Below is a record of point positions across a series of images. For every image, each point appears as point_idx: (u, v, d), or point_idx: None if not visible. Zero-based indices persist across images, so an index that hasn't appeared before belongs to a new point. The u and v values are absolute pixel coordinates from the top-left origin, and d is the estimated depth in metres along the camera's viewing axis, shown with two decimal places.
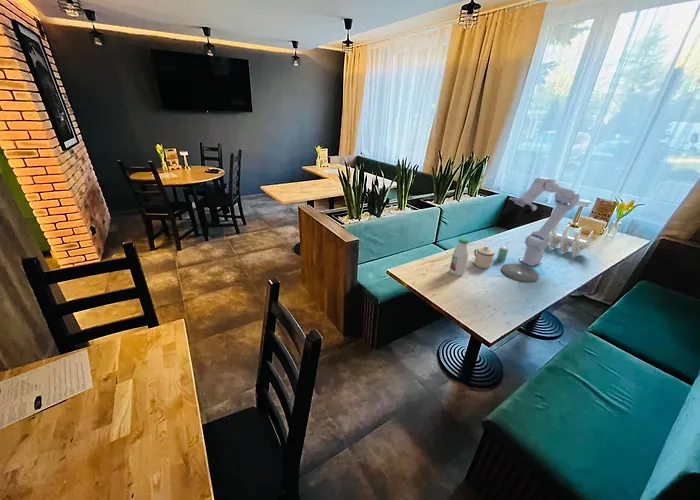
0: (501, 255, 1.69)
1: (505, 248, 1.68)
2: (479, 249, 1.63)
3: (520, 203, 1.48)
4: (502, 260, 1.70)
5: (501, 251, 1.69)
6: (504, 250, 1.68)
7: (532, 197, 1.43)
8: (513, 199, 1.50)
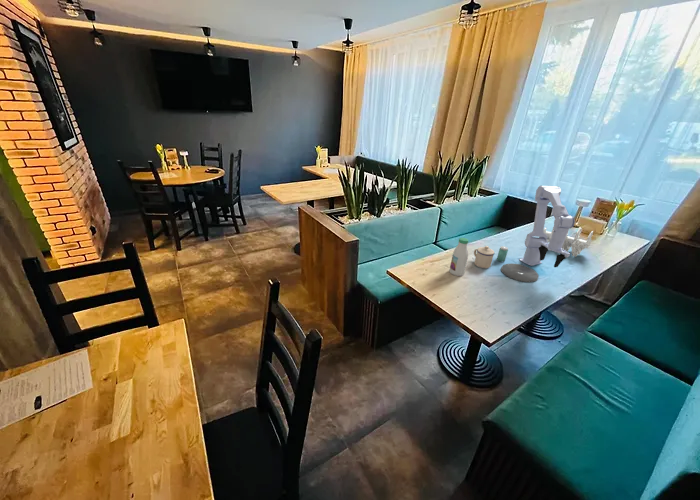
0: (501, 255, 1.69)
1: (505, 248, 1.68)
2: (479, 249, 1.63)
3: None
4: (502, 260, 1.70)
5: (501, 251, 1.69)
6: (504, 250, 1.68)
7: (560, 243, 1.42)
8: (543, 245, 1.50)
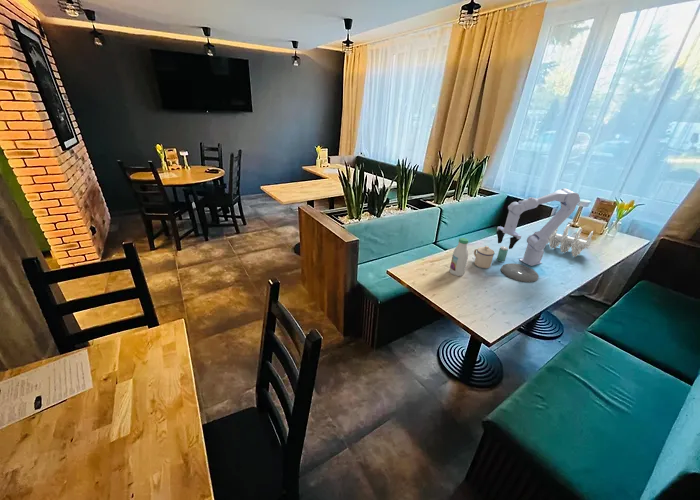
0: (501, 255, 1.69)
1: (505, 248, 1.68)
2: (479, 249, 1.63)
3: None
4: (502, 260, 1.70)
5: (501, 251, 1.69)
6: (504, 250, 1.68)
7: (513, 227, 1.60)
8: (500, 229, 1.68)
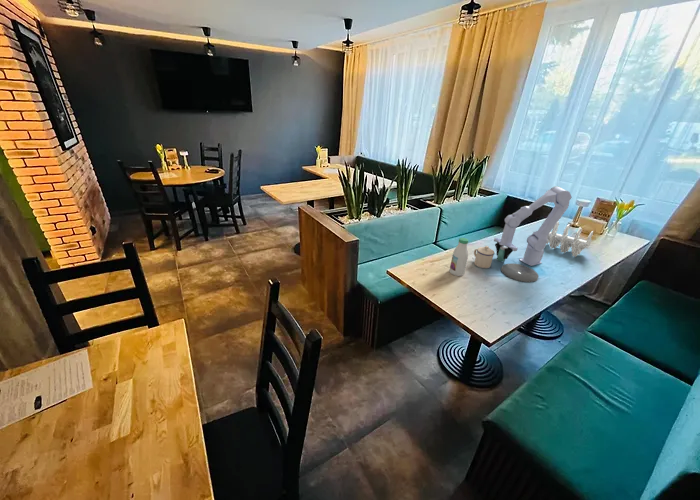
0: (501, 255, 1.69)
1: None
2: (479, 249, 1.63)
3: None
4: (502, 260, 1.70)
5: (501, 251, 1.69)
6: (504, 250, 1.68)
7: (509, 239, 1.63)
8: (497, 240, 1.71)
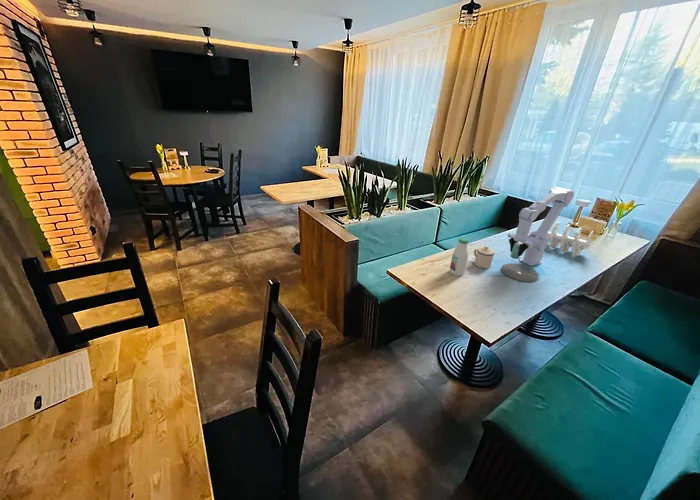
0: (515, 251, 1.58)
1: None
2: (479, 249, 1.63)
3: None
4: (516, 257, 1.59)
5: (515, 247, 1.57)
6: None
7: (525, 234, 1.52)
8: (511, 236, 1.60)
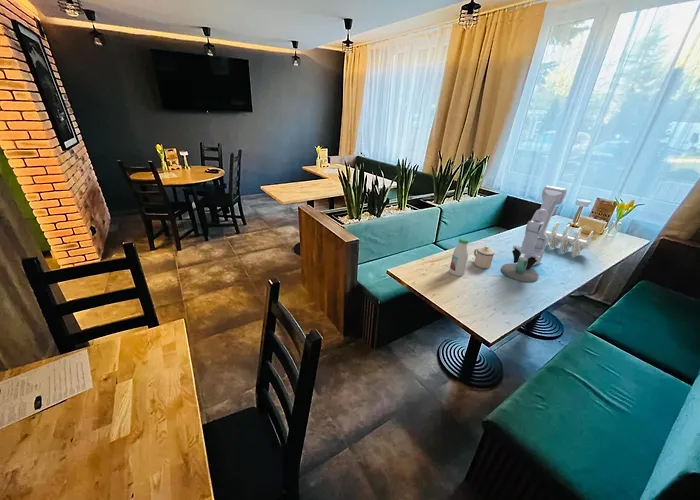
0: (520, 266, 1.55)
1: (525, 259, 1.55)
2: (479, 249, 1.63)
3: None
4: (522, 272, 1.56)
5: (521, 262, 1.55)
6: (524, 261, 1.54)
7: (531, 247, 1.49)
8: (516, 248, 1.57)
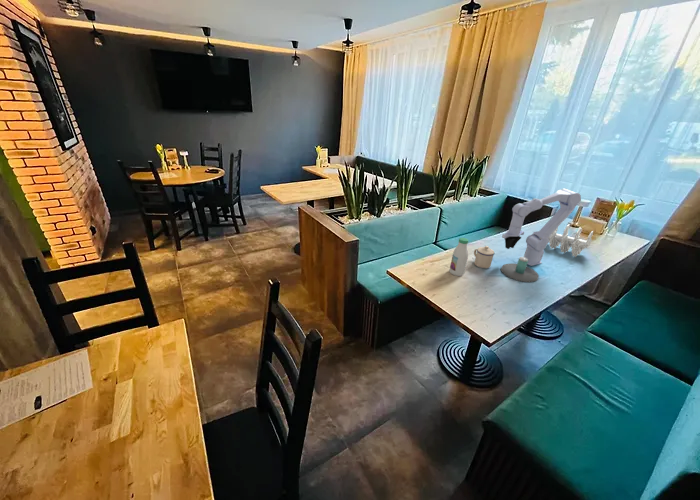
0: (520, 266, 1.55)
1: (525, 259, 1.55)
2: (479, 249, 1.63)
3: None
4: (522, 272, 1.56)
5: (521, 262, 1.55)
6: (524, 261, 1.54)
7: (510, 227, 1.60)
8: None
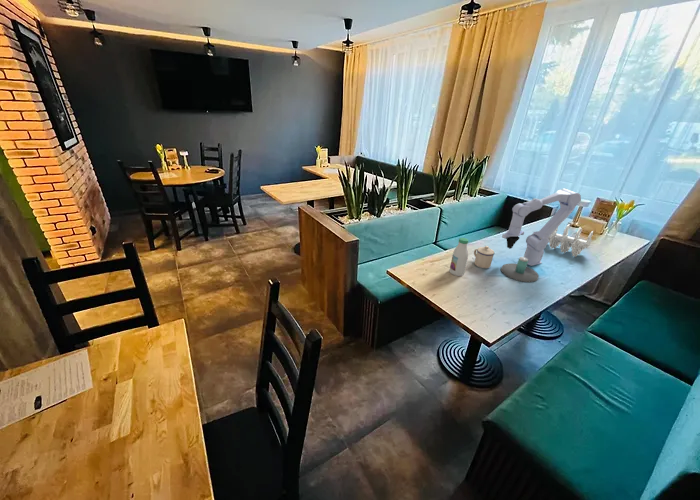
0: (520, 266, 1.55)
1: (525, 259, 1.55)
2: (479, 249, 1.63)
3: None
4: (522, 272, 1.56)
5: (521, 262, 1.55)
6: (524, 261, 1.54)
7: (510, 227, 1.60)
8: None
